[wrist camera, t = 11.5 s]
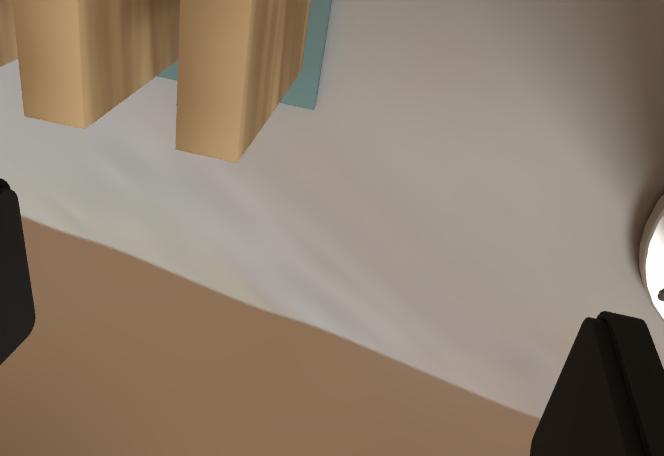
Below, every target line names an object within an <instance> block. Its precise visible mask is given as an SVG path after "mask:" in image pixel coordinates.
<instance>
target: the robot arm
mask: <svg viewBox="0 0 664 456" xmlns="http://www.w3.org/2000/svg"><path fill="white" fill-rule="evenodd" d="M639 268H640V273H641V278H642V282H643V286H644V288H645V291H646V293H647V295H648V297H649V300H650V302H651V304H652V305H653V307H654V308H655V310H656V311H657V313H658V314H659V316H660V317H661V319H662V320H663V321H664V194H663V195H662V196H661V198H660V199H659V200H658V201H657V203H656V205H655V207H654V209H653V211H652V213H651V214H650V216H649V218H648V220H647V222H646V224H645V228H644V232H643V235H642V239H641V242H640V251H639ZM34 323H35V309H34V303H33V296H32V289H31V282H30V276H29V269H28V262H27V256H26V249H25V242H24V235H23V229H22V222H21V215H20V209H19V202H18V197H17V195H16V193H15V192H14V191H13V190H11V189H10V186H9V185H8V183H7V182H6V181H5V180H3V179H0V365H1V364H2V363H3V362H4V361H5V360H6V358H7V357H9V356H10V354H11V353H12V352H13V351H14V350H15V349H16V348H17V347H18V346H19V345H20V344H21V343H22V342H23V341H24V340H25V339H26V338H27V337H28V335H29V334H30V333H31V331H32V329H33V326H34ZM530 456H664V369H663V366H662V364H661V361H660V358H659V356H658V353H657V351H656V348H655V345H654V343H653V340H652V337H651V335H650V332H649V330H648V327H647V325H646V323H645V321H644V320H642V319H639V318H634V317H630V316H625V315H620V314H616V313H611V312H607V311H603V312H601V313H600V314H599V315H598V317H597V318H596V319H594V318H590V317H588V318H586V319H585V320H584V321H583V323H582V325H581V328H580V330H579V332H578V335H577V337H576V339H575V341H574V344H573V346H572V348H571V351H570V353H569V355H568V358H567V360H566V362H565V365H564V367H563V369H562V371H561V374H560V376H559V378H558V381H557V383H556V385H555V388H554V390H553V392H552V395H551V397H550V399H549V402H548V404H547V406H546V408H545V411H544V413H543V415H542V418H541V420H540V422H539V425H538V427H537V429H536V432H535V434H534V436H533V439H532V443H531V450H530Z"/></svg>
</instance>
